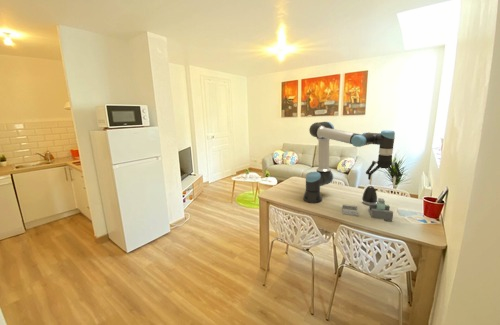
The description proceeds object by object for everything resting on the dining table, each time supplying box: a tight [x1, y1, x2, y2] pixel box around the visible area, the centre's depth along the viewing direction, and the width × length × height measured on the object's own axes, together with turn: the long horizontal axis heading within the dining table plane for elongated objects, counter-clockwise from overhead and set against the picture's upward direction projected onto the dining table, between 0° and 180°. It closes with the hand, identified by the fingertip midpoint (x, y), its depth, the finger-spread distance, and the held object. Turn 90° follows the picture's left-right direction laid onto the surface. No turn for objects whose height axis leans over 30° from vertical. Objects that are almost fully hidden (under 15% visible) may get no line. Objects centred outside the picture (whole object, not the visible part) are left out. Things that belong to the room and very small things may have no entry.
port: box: [368, 203, 394, 223], centre depth 144 cm, size 12×12×7 cm
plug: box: [376, 197, 386, 210], centre depth 143 cm, size 4×5×12 cm
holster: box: [341, 204, 360, 217], centre depth 150 cm, size 10×10×4 cm
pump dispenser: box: [361, 185, 379, 206], centre depth 161 cm, size 10×10×15 cm
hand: (381, 185), depth 140 cm, fingers open, 13 cm apart
